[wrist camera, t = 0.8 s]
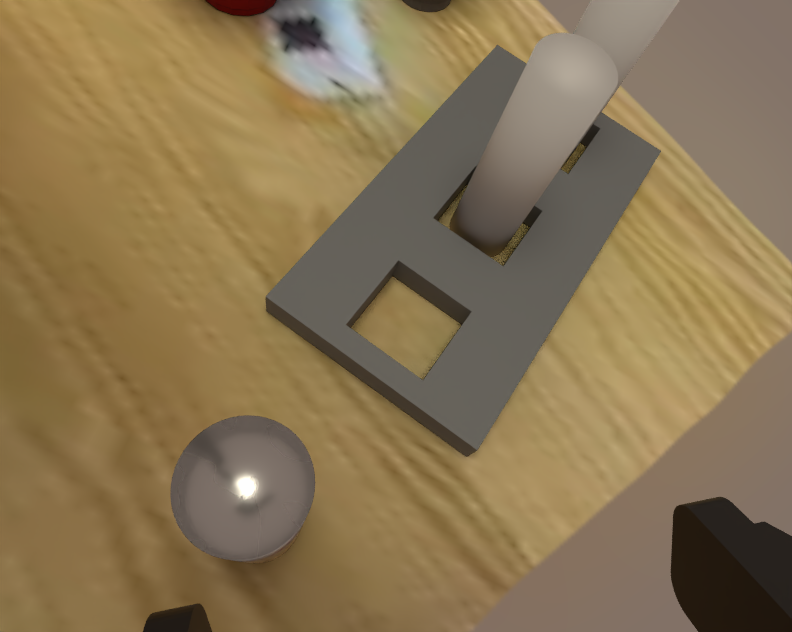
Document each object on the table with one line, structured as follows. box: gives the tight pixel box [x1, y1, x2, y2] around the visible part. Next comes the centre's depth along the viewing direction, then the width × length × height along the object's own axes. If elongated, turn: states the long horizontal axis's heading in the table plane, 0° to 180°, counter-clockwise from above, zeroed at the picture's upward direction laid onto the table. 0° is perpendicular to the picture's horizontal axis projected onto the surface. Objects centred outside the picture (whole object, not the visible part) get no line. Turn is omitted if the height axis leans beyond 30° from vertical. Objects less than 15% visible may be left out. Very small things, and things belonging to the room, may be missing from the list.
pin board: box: [266, 0, 680, 457], centre depth 32 cm, size 14×26×14 cm, turn 146°
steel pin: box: [171, 416, 315, 563], centre depth 23 cm, size 4×4×14 cm
